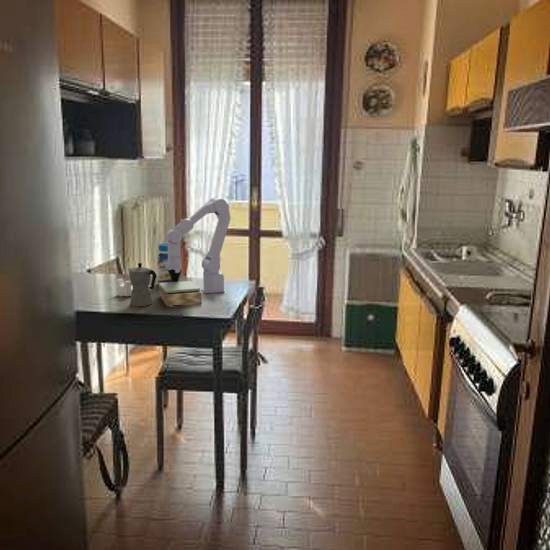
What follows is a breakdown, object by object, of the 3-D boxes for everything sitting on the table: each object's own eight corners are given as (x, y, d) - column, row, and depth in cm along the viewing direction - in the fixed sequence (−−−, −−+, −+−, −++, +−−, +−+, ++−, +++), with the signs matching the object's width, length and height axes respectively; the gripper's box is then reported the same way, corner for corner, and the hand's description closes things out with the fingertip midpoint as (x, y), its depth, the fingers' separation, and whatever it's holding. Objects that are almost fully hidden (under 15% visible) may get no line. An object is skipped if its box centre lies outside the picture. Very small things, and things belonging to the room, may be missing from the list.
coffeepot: (121, 304, 234) (120, 263, 230) (137, 299, 242) (135, 259, 238) (149, 309, 226) (148, 267, 223) (164, 304, 234) (163, 263, 231)
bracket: (126, 298, 245) (125, 282, 243) (117, 295, 249) (117, 279, 248) (150, 293, 254) (150, 277, 253) (141, 290, 259) (141, 275, 257)
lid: (191, 289, 253) (191, 280, 252) (200, 298, 239) (199, 288, 238) (159, 292, 248) (158, 282, 247) (165, 300, 233) (165, 290, 232)
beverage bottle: (176, 282, 277) (175, 243, 273) (173, 285, 269) (172, 245, 265) (159, 281, 277) (158, 243, 273) (156, 285, 269) (155, 245, 265)
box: (193, 295, 250) (193, 285, 249) (201, 303, 237) (201, 292, 236) (160, 298, 245) (160, 287, 244) (167, 306, 231) (166, 295, 230)
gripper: (162, 254, 253) (163, 282, 256) (168, 259, 240) (169, 289, 243) (177, 253, 256) (178, 281, 259) (184, 258, 243) (184, 288, 246)
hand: (174, 285), depth 251 cm, fingers closed
